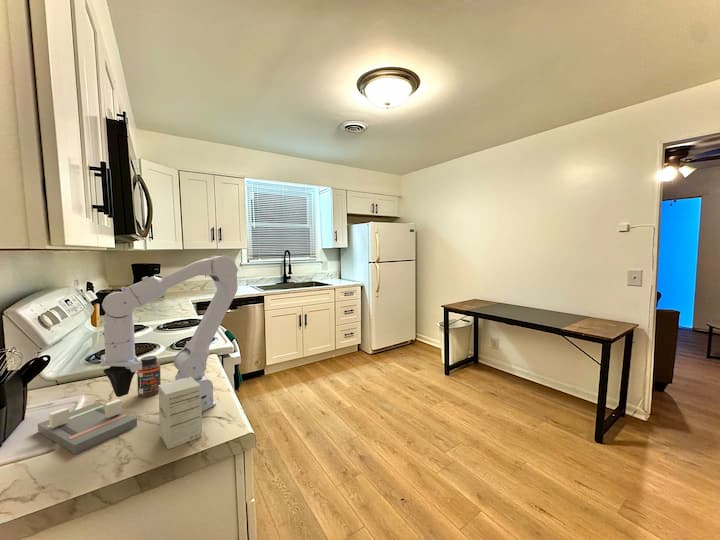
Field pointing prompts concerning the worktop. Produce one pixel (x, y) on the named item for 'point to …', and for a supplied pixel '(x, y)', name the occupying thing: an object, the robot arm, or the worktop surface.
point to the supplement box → (180, 411)
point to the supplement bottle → (149, 377)
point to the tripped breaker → (113, 408)
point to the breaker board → (87, 428)
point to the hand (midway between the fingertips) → (122, 395)
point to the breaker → (59, 417)
